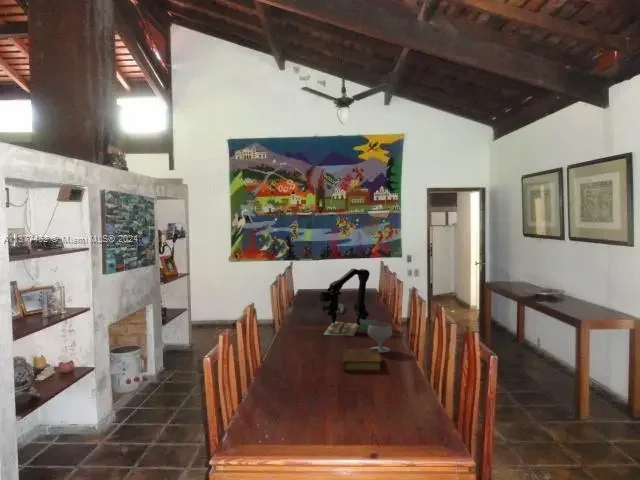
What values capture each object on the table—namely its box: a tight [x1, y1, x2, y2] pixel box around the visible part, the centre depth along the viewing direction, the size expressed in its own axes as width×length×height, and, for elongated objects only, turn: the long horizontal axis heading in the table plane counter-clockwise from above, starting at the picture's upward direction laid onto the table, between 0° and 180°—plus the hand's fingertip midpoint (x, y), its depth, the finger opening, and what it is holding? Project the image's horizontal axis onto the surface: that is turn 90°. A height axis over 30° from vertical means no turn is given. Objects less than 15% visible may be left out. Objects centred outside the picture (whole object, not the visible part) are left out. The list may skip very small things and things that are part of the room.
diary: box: [342, 348, 382, 372], centre depth 247 cm, size 23×19×6 cm
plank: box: [326, 321, 346, 333], centre depth 324 cm, size 8×24×2 cm, turn 169°
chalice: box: [368, 321, 393, 354], centre depth 272 cm, size 14×14×15 cm
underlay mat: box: [323, 324, 360, 337], centre depth 323 cm, size 20×30×1 cm, turn 169°
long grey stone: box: [337, 303, 346, 315], centre depth 394 cm, size 35×5×10 cm
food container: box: [359, 318, 378, 336], centre depth 311 cm, size 12×6×10 cm, turn 62°
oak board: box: [341, 322, 358, 334], centre depth 322 cm, size 7×24×2 cm, turn 169°
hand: (333, 323), depth 330 cm, fingers closed, pressing on plank
